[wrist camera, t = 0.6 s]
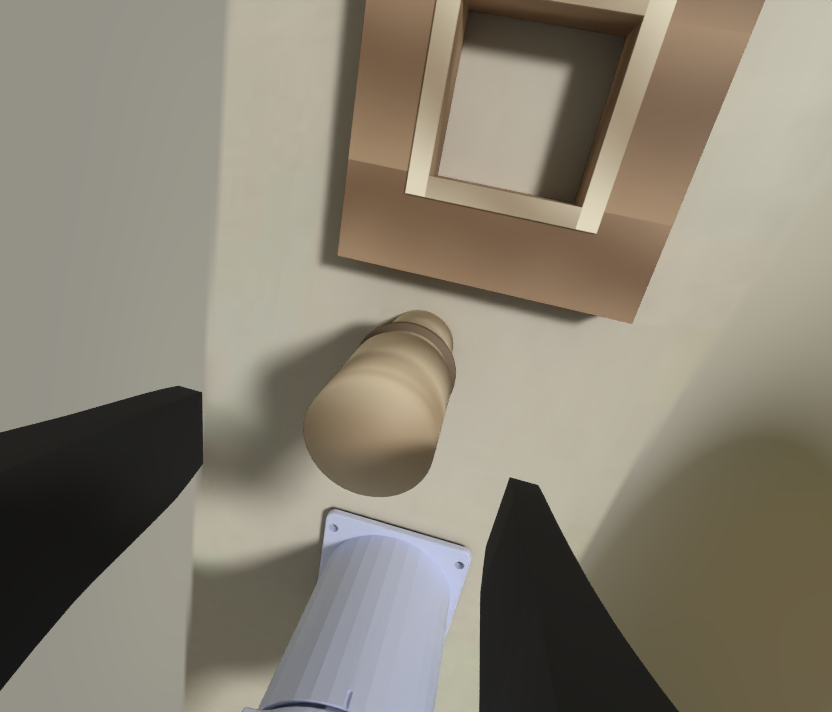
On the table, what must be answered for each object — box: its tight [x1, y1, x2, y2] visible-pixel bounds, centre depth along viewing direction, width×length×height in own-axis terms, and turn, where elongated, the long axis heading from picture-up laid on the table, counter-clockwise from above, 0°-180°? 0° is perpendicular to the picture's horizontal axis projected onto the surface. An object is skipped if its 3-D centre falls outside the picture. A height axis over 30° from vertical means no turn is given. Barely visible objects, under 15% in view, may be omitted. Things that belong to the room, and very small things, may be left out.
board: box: [338, 0, 765, 324], centre depth 15 cm, size 12×11×2 cm
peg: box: [303, 310, 456, 497], centre depth 16 cm, size 4×4×8 cm
